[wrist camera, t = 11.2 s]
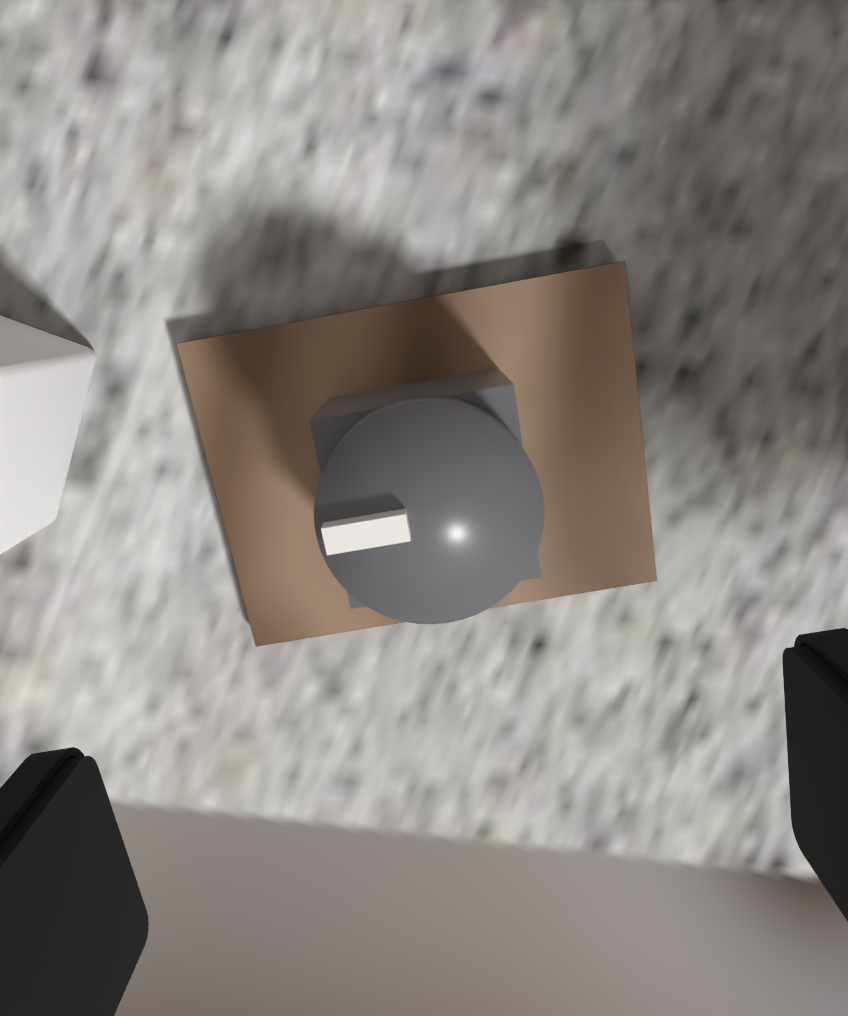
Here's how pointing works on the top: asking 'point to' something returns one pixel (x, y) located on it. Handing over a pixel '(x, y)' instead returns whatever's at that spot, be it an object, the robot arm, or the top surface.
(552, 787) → the top surface
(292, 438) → the board
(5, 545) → the medicine bottle
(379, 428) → the knob
